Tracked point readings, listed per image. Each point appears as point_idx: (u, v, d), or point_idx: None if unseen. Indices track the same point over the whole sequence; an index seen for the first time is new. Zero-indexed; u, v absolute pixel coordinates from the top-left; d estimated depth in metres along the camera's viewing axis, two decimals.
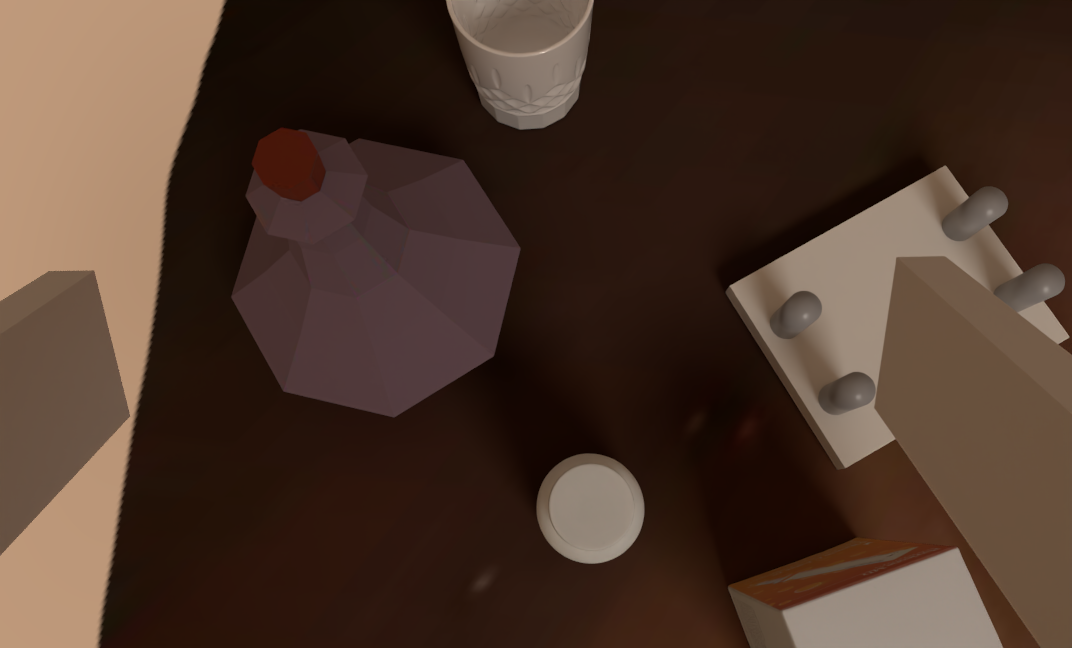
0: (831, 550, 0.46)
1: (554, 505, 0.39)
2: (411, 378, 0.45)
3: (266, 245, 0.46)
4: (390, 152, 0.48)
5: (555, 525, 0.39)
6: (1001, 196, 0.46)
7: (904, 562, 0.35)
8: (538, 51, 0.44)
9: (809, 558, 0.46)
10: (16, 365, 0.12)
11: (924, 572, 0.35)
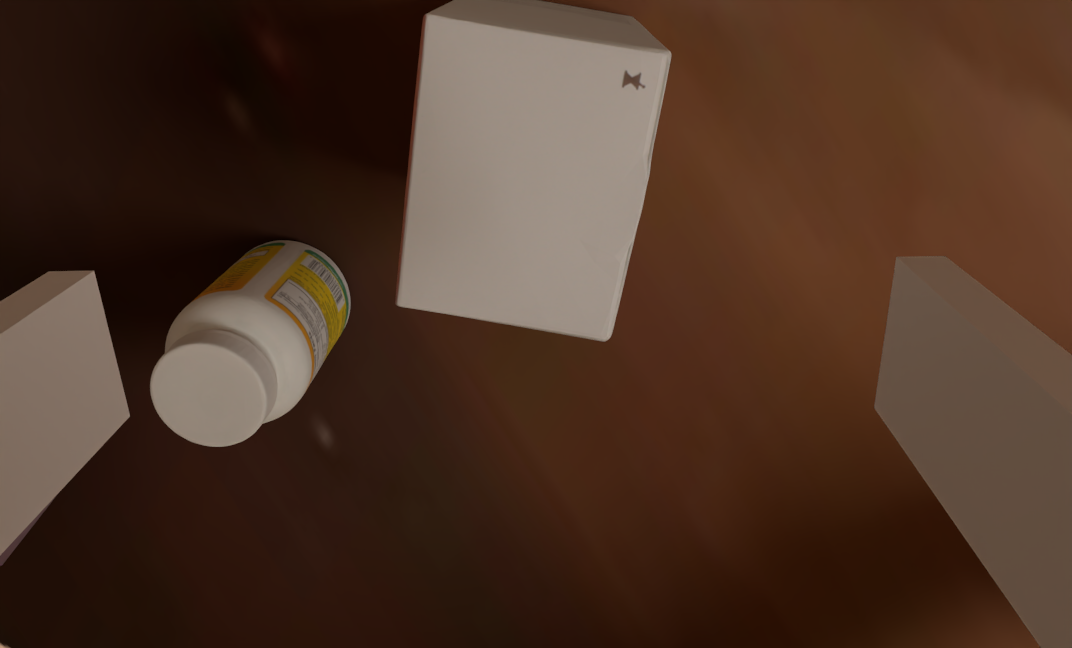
0: None
1: (189, 435, 0.29)
2: None
3: None
4: None
5: (214, 445, 0.30)
6: None
7: None
8: None
9: None
10: (17, 364, 0.12)
11: (437, 88, 0.21)
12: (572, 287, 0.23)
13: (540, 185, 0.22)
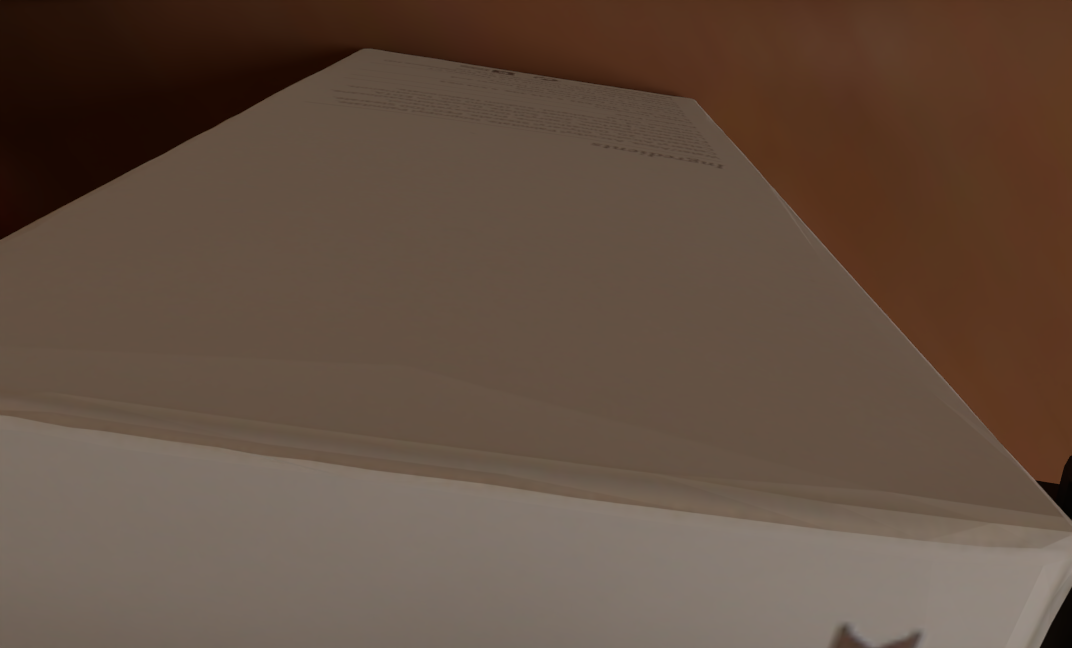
0: None
1: None
2: None
3: None
4: None
5: None
6: None
7: None
8: None
9: None
10: None
11: None
12: None
13: None
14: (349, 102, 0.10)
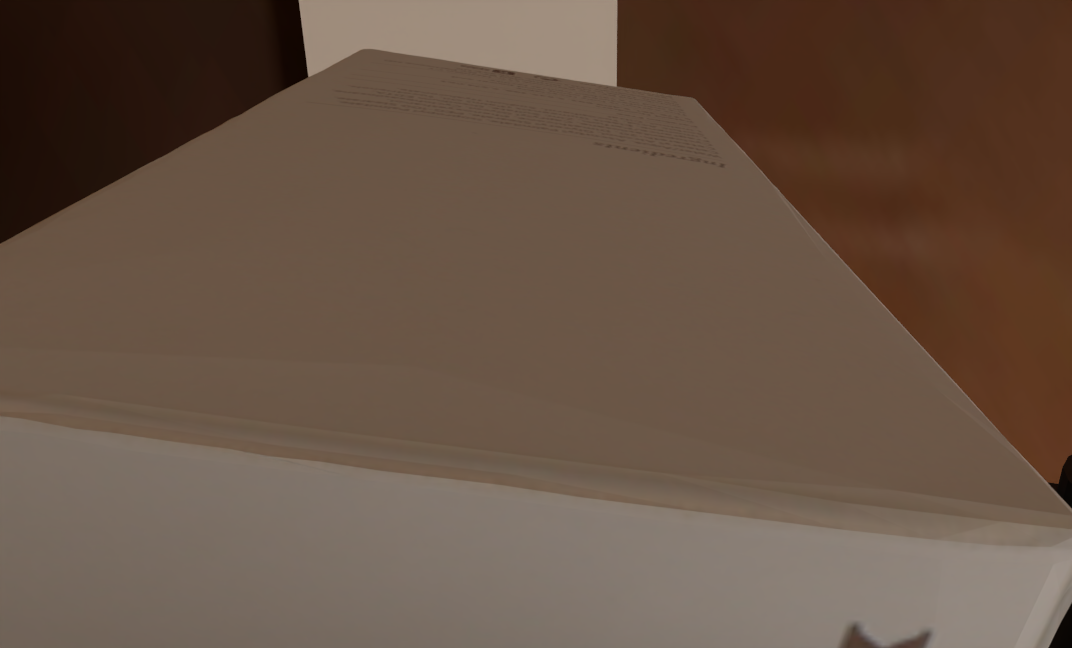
0: None
1: None
2: None
3: None
4: None
5: None
6: None
7: None
8: None
9: None
10: None
11: None
12: None
13: None
14: (350, 102, 0.10)
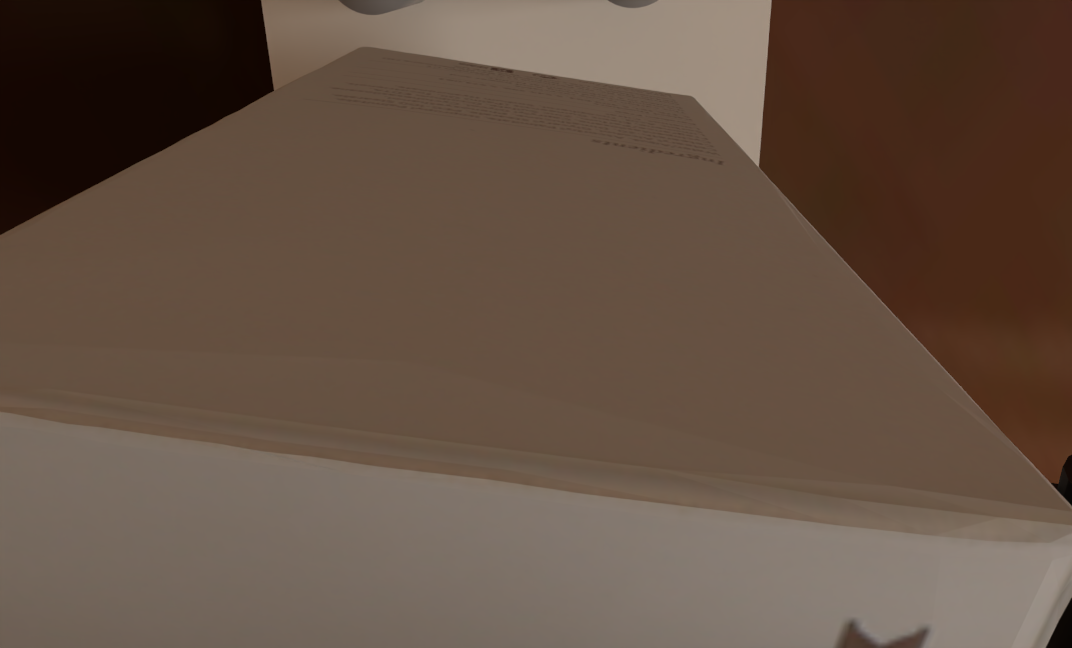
0: None
1: None
2: None
3: None
4: None
5: None
6: None
7: None
8: None
9: None
10: None
11: None
12: None
13: None
14: (348, 99, 0.10)
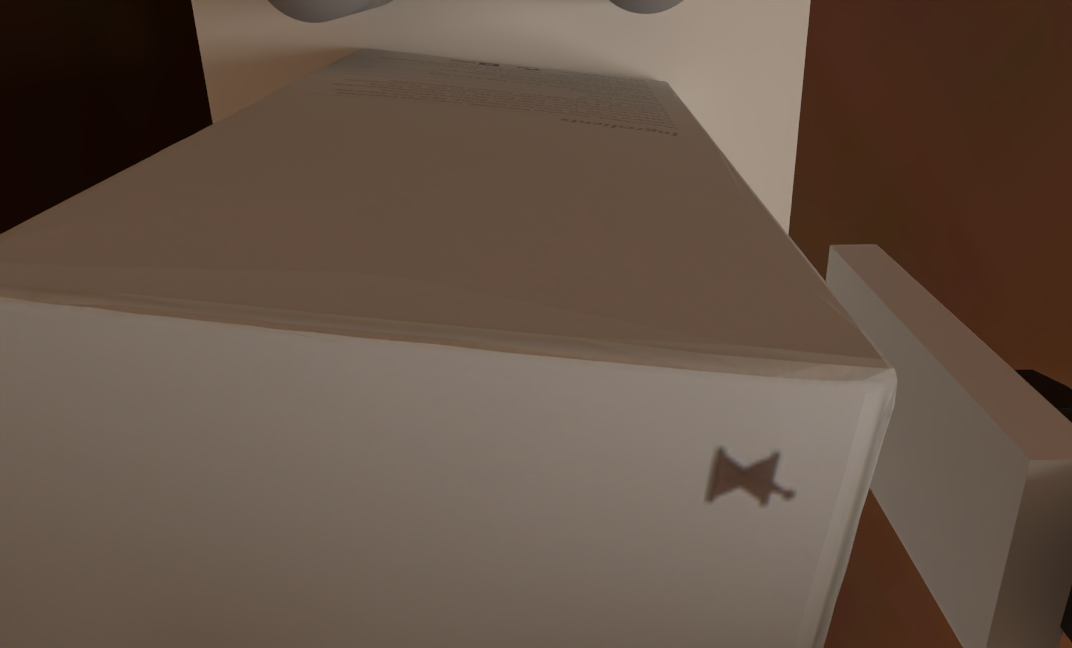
0: None
1: None
2: None
3: None
4: None
5: None
6: None
7: None
8: None
9: None
10: None
11: (18, 528, 0.06)
12: None
13: None
14: (346, 92, 0.12)
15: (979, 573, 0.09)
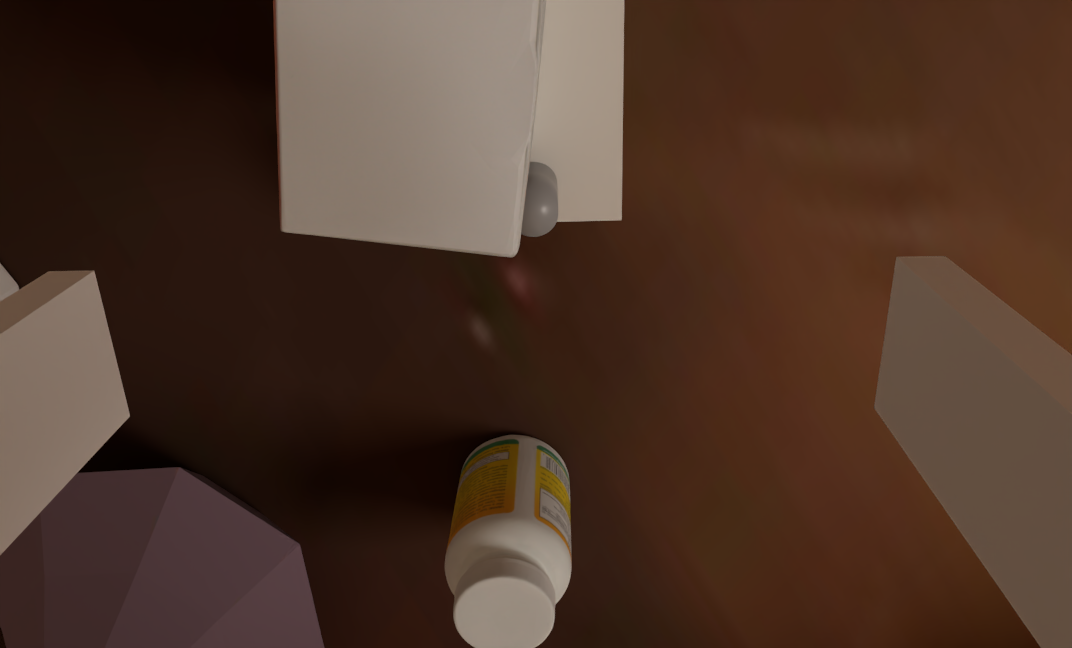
0: None
1: (483, 647, 0.34)
2: (288, 638, 0.39)
3: None
4: None
5: None
6: None
7: None
8: None
9: None
10: (17, 364, 0.12)
11: None
12: (469, 198, 0.21)
13: (420, 83, 0.20)
14: None
15: None
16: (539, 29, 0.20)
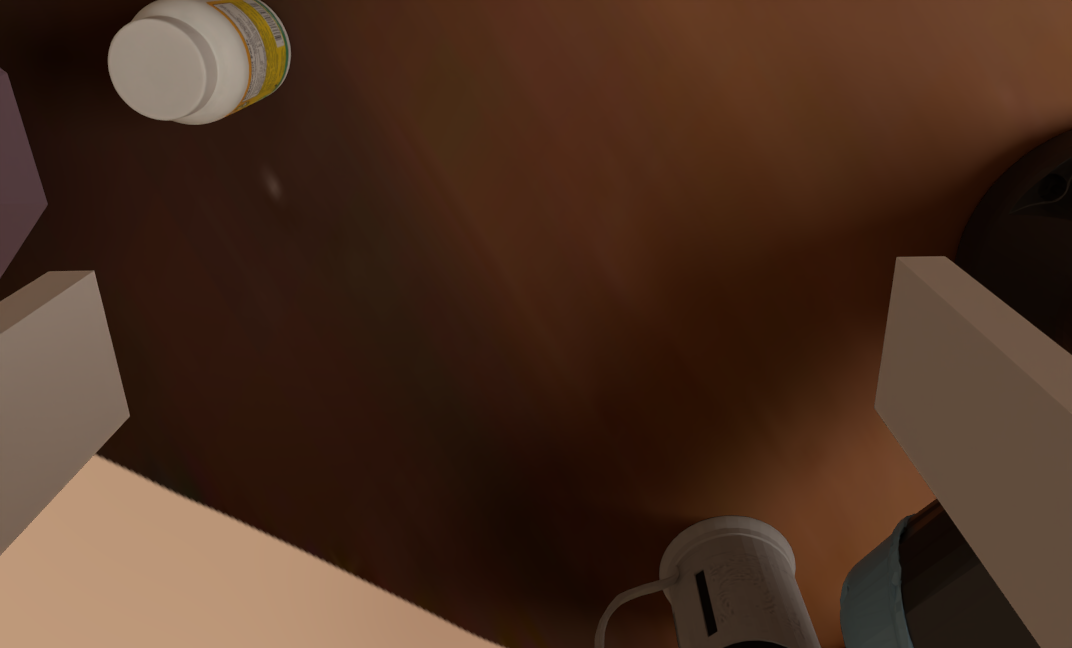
0: None
1: (142, 108, 0.35)
2: None
3: None
4: None
5: (163, 118, 0.35)
6: None
7: None
8: None
9: None
10: (16, 364, 0.12)
11: None
12: None
13: None
14: None
15: None
16: None
